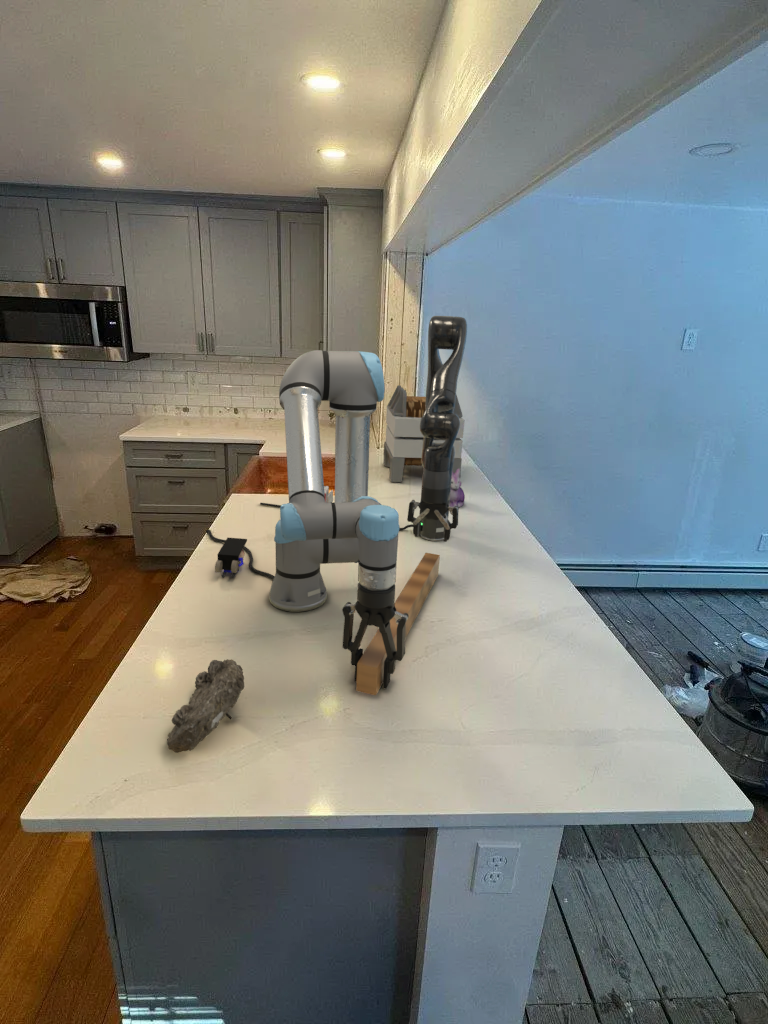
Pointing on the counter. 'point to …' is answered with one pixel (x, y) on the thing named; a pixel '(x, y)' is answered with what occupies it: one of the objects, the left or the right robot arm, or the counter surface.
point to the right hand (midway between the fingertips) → (431, 538)
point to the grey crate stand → (411, 434)
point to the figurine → (456, 490)
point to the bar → (407, 602)
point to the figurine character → (230, 556)
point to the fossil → (206, 705)
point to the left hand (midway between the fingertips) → (372, 681)
